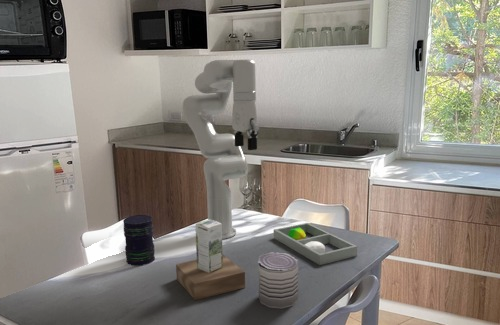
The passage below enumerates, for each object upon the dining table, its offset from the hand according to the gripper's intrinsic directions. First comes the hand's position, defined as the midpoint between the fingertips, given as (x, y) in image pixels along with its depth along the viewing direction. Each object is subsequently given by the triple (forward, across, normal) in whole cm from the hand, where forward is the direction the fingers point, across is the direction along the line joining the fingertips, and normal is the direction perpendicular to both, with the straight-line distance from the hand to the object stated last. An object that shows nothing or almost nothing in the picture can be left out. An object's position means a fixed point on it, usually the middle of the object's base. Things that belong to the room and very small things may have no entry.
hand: (245, 147), depth 157 cm
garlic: (+39, +10, +21) cm, 45 cm away
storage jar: (+38, -14, -35) cm, 54 cm away
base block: (+38, +15, -21) cm, 46 cm away
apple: (+39, +1, +21) cm, 44 cm away
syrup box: (+34, +15, -21) cm, 42 cm away
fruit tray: (+38, +6, +24) cm, 46 cm away
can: (+39, +34, -8) cm, 52 cm away
